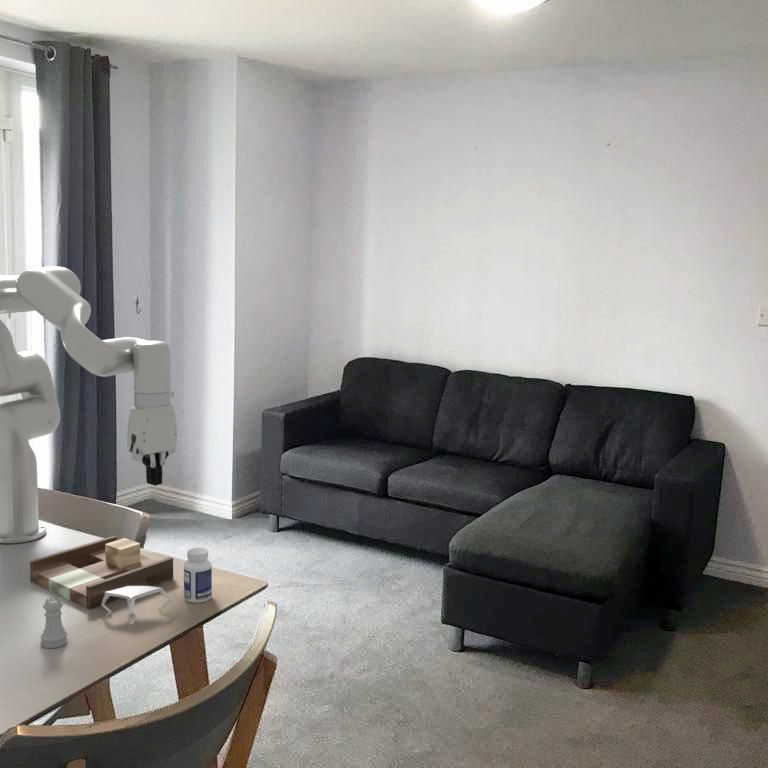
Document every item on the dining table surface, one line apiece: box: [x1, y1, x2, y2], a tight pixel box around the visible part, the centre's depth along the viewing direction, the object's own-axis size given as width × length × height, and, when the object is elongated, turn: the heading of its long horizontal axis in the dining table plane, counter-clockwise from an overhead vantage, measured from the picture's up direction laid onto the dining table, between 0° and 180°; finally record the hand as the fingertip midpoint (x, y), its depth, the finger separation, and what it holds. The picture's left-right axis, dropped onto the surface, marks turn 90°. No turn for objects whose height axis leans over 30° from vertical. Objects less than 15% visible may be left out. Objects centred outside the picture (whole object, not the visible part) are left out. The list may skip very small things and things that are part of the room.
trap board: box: [29, 535, 174, 610], centre depth 177 cm, size 20×20×4 cm
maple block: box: [105, 537, 141, 568], centre depth 180 cm, size 5×5×4 cm
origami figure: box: [101, 586, 173, 625], centre depth 161 cm, size 12×8×5 cm
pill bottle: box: [183, 547, 213, 604], centre depth 169 cm, size 5×5×10 cm
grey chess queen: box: [40, 596, 69, 649], centre depth 149 cm, size 4×4×8 cm
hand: (154, 483), depth 184 cm, fingers closed
